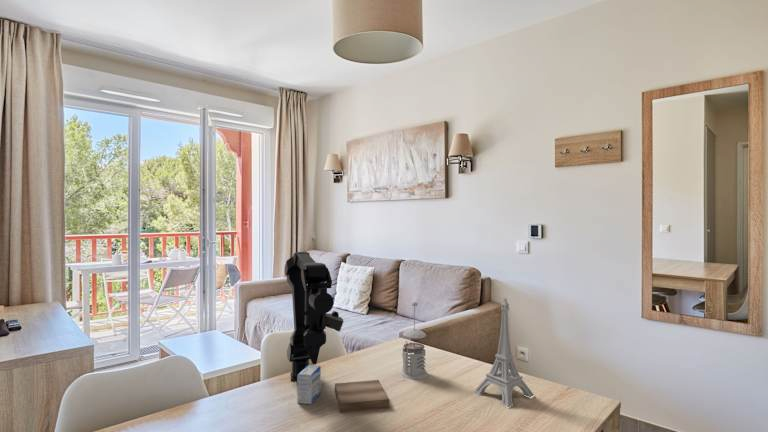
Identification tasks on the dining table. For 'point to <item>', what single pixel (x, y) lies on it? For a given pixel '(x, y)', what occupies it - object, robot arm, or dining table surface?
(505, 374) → the eiffel tower
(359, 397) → the walnut block
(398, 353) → the dining table surface
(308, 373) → the medicine box
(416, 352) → the french press
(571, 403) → the dining table surface
